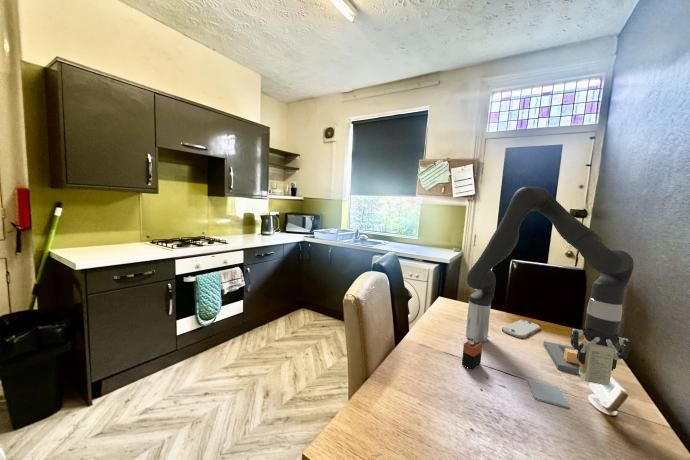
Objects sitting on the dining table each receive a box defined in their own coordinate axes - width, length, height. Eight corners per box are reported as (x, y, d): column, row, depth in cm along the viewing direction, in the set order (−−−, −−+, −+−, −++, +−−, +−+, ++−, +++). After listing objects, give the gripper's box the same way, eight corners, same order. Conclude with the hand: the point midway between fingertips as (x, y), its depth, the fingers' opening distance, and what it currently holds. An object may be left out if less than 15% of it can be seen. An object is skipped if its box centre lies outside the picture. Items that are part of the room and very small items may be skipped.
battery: (461, 365, 104) (463, 340, 103) (470, 359, 108) (472, 336, 107) (472, 371, 100) (474, 346, 99) (480, 365, 104) (483, 340, 103)
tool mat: (534, 399, 87) (534, 397, 87) (527, 380, 96) (527, 379, 96) (569, 408, 83) (569, 406, 83) (558, 388, 92) (558, 387, 92)
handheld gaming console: (522, 335, 126) (500, 326, 134) (521, 340, 126) (499, 331, 134) (542, 324, 139) (521, 317, 147) (541, 329, 139) (520, 322, 147)
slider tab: (582, 364, 103) (583, 355, 103) (566, 361, 105) (567, 351, 105) (579, 360, 106) (580, 351, 106) (563, 357, 108) (564, 348, 108)
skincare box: (601, 378, 85) (607, 341, 83) (609, 386, 80) (616, 349, 79) (576, 372, 87) (582, 337, 85) (583, 381, 83) (589, 344, 81)
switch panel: (597, 378, 99) (598, 373, 99) (557, 369, 104) (558, 364, 103) (576, 351, 117) (576, 347, 117) (543, 345, 122) (543, 340, 122)
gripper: (578, 314, 81) (570, 365, 82) (643, 325, 75) (633, 380, 77) (569, 305, 87) (562, 353, 89) (628, 315, 82) (619, 365, 84)
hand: (595, 365), depth 83 cm, fingers closed on skincare box, 6 cm apart
